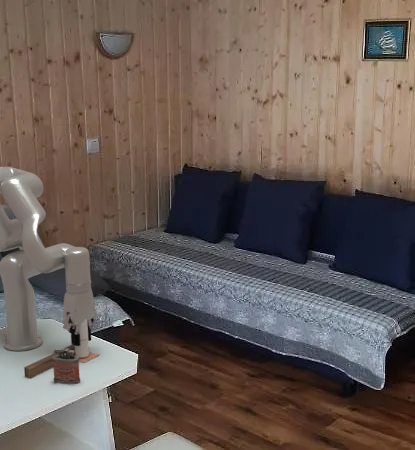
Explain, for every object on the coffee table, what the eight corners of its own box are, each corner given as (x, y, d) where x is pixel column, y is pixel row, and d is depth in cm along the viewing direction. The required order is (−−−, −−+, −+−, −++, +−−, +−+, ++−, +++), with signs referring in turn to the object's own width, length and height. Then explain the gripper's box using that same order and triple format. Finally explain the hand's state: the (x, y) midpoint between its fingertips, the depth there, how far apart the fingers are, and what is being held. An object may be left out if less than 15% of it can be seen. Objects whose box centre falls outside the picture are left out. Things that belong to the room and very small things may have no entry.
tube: (85, 357, 212) (83, 312, 209) (73, 356, 213) (70, 311, 210) (91, 352, 216) (88, 308, 213) (78, 351, 217) (76, 307, 214)
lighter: (82, 380, 199) (80, 348, 197) (77, 385, 195) (75, 352, 193) (56, 378, 200) (54, 346, 198) (51, 382, 197) (49, 350, 195)
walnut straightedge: (24, 376, 201) (24, 367, 201) (80, 349, 221) (79, 340, 221) (30, 378, 200) (29, 369, 199) (85, 350, 220) (85, 342, 219)
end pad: (70, 359, 214) (70, 358, 214) (85, 351, 219) (85, 350, 219) (84, 363, 210) (84, 362, 210) (99, 355, 216) (99, 354, 216)
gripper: (87, 278, 219) (90, 331, 223) (50, 292, 205) (53, 349, 209) (105, 282, 215) (108, 336, 219) (68, 296, 201) (71, 354, 205)
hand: (81, 341), depth 214 cm, fingers closed on tube, 4 cm apart
